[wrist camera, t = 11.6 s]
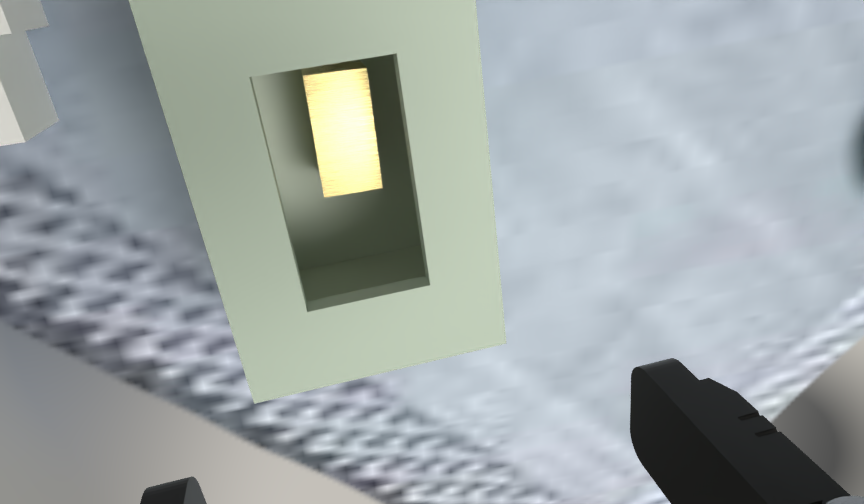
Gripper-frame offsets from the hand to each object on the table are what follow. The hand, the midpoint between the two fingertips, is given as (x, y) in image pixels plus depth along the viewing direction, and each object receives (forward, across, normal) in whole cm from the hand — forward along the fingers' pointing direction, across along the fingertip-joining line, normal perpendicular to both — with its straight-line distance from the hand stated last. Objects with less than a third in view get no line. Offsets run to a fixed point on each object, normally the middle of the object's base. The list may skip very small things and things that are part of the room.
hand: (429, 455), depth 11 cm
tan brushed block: (+24, -1, -4) cm, 24 cm away
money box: (+28, 0, 0) cm, 28 cm away
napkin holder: (+28, +15, -8) cm, 33 cm away
